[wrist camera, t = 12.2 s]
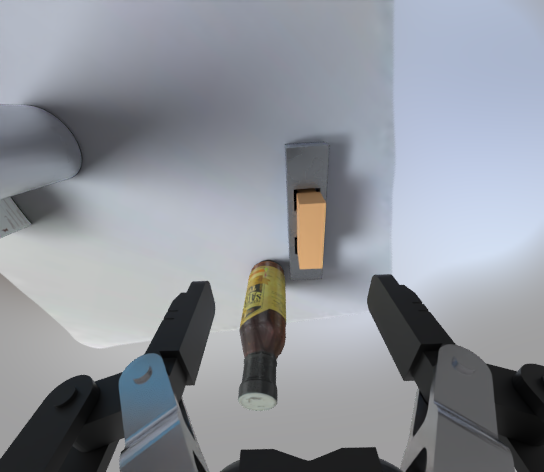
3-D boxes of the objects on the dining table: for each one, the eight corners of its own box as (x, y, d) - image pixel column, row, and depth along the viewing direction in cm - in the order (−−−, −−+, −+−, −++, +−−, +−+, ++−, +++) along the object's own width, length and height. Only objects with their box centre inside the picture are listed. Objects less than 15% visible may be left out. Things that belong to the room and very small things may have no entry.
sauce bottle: (259, 253, 37) (242, 377, 19) (291, 267, 38) (302, 394, 21) (244, 279, 40) (218, 407, 22) (274, 291, 41) (272, 421, 24)
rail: (289, 266, 38) (290, 280, 35) (285, 144, 28) (286, 147, 25) (318, 265, 38) (321, 278, 35) (323, 141, 28) (329, 144, 25)
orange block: (295, 241, 35) (299, 269, 29) (294, 186, 31) (299, 204, 24) (314, 240, 35) (322, 268, 29) (316, 184, 30) (326, 202, 24)
